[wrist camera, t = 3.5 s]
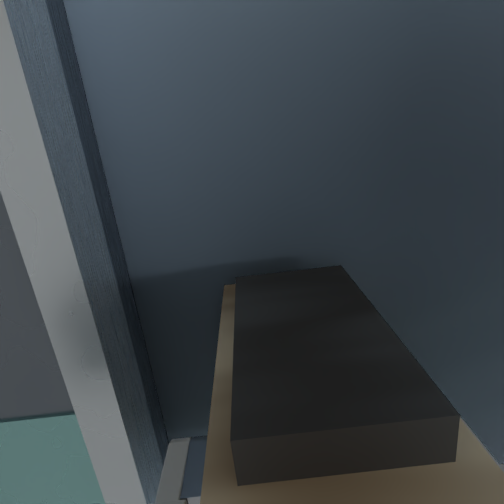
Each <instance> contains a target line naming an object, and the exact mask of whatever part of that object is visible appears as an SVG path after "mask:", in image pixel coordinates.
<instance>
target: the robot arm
mask: <svg viewBox="0 0 504 504" xmlns="http://www.w3.org/2000/svg"><path fill="white" fill-rule="evenodd" d="M460 418H461V419H462V417H461V416H460ZM462 420H463V419H462ZM463 422H464V423H465V424H466V422H465V421H464V420H463ZM466 425H467V424H466ZM467 427H468V428H469V429H470V427H469V426H468V425H467ZM470 430H471V429H470ZM471 432H472V433H473V434H474V432H473V431H472V430H471ZM207 436H208V435H207ZM207 436H195V437H189V438H176V439H172V440H171V441H170V443H169V445H168V449H167V453H166V457H165V462H164V466H163V470H162V474H161V478H160V483H159V487H158V491H157V495H156V499H155V503H149V504H200V499H201V490H202V481H203V472H204V463H205V454H206V445H207ZM474 436H475V437H476V438H477V439H478V437H477V436H476V435H475V434H474ZM478 441H479V442H480V443H481V444H482V446H483V447H484V448H485V449H486V451H487V452H488V453H489V455H490V456H491V457H492V458H493V460H494V461H495V462H496V463H497V465H498V466H499V467H500V469H501V470H502V471H503V472H504V464H499V463H498V462H497V461H496V460H495V458H494V457H493V456H492V455H491V453H490V452H489V451H488V450H487V448H486V447H485V446H484V445H483V443H482V442H481V441H480V440H479V439H478Z"/></svg>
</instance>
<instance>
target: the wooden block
mask: <svg viewBox="0 0 504 504" xmlns="http://www.w3.org/2000/svg"><path fill="white" fill-rule="evenodd" d="M200 504H504V472H503V471H502V470H501V469H500V467H499V466H498V465H497V463H496V462H495V461H494V460H493V458H492V457H491V456H490V455H489V453H488V452H487V451H486V449H485V448H484V447H483V446H482V444H481V443H480V442H479V441H478V439H477V438H476V437H475V436H474V434H473V433H472V432H471V430H470V429H469V428H468V427H467V425H466V424H465V423H464V422H463V420H462V419H461V418H460V414H459V413H458V412H457V411H456V409H455V408H454V407H453V406H452V404H451V403H450V402H449V401H448V399H447V398H446V397H445V396H444V394H443V393H442V392H441V390H440V389H439V388H438V387H437V385H436V384H435V383H434V382H433V380H432V379H431V378H430V377H429V375H428V374H427V373H426V372H425V370H424V369H423V368H422V367H421V365H420V364H419V363H418V362H417V360H416V359H415V358H414V357H413V355H412V354H411V353H410V351H409V350H408V349H407V348H406V346H405V345H404V344H403V343H402V341H401V340H400V339H399V338H398V336H397V335H396V334H395V333H394V331H393V330H392V329H391V328H390V326H389V325H388V324H387V323H386V321H385V320H384V319H383V318H382V316H381V315H380V314H379V312H378V311H377V310H376V309H375V307H374V306H373V305H372V304H371V302H370V301H369V300H368V299H367V297H366V296H365V295H364V294H363V292H362V291H361V290H360V289H359V287H358V286H357V285H356V284H355V282H354V281H353V280H352V279H351V277H350V276H349V275H348V273H347V272H346V271H345V270H344V268H343V267H342V266H341V265H339V266H330V267H321V268H313V269H304V270H295V271H286V272H278V273H269V274H260V275H251V276H243V277H236V284H231V285H224V292H223V301H222V310H221V319H220V328H219V337H218V346H217V355H216V364H215V373H214V382H213V391H212V400H211V409H210V418H209V427H208V436H207V445H206V454H205V463H204V472H203V481H202V490H201V499H200Z"/></svg>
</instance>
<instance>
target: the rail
mask: <svg viewBox="0 0 504 504" xmlns="http://www.w3.org/2000/svg"><path fill="white" fill-rule="evenodd" d="M168 445H169V442H168V438H167V434H166V430H165V426H164V422H163V417H162V413H161V409H160V405H159V401H158V396H157V392H156V388H155V384H154V380H153V376H152V371H151V367H150V363H149V359H148V355H147V350H146V346H145V342H144V338H143V334H142V329H141V325H140V321H139V317H138V313H137V309H136V304H135V300H134V296H133V292H132V288H131V283H130V279H129V275H128V271H127V267H126V263H125V258H124V254H123V250H122V246H121V242H120V237H119V233H118V229H117V225H116V221H115V217H114V212H113V208H112V204H111V200H110V196H109V191H108V187H107V183H106V179H105V175H104V171H103V166H102V162H101V158H100V154H99V150H98V145H97V141H96V137H95V133H94V129H93V125H92V120H91V116H90V112H89V108H88V104H87V99H86V95H85V91H84V87H83V83H82V78H81V74H80V70H79V66H78V62H77V58H76V53H75V49H74V45H73V41H72V37H71V32H70V28H69V24H68V20H67V16H66V12H65V7H64V3H63V0H0V504H149V503H155V499H156V495H157V491H158V487H159V483H160V478H161V474H162V470H163V466H164V462H165V457H166V453H167V449H168Z"/></svg>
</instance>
